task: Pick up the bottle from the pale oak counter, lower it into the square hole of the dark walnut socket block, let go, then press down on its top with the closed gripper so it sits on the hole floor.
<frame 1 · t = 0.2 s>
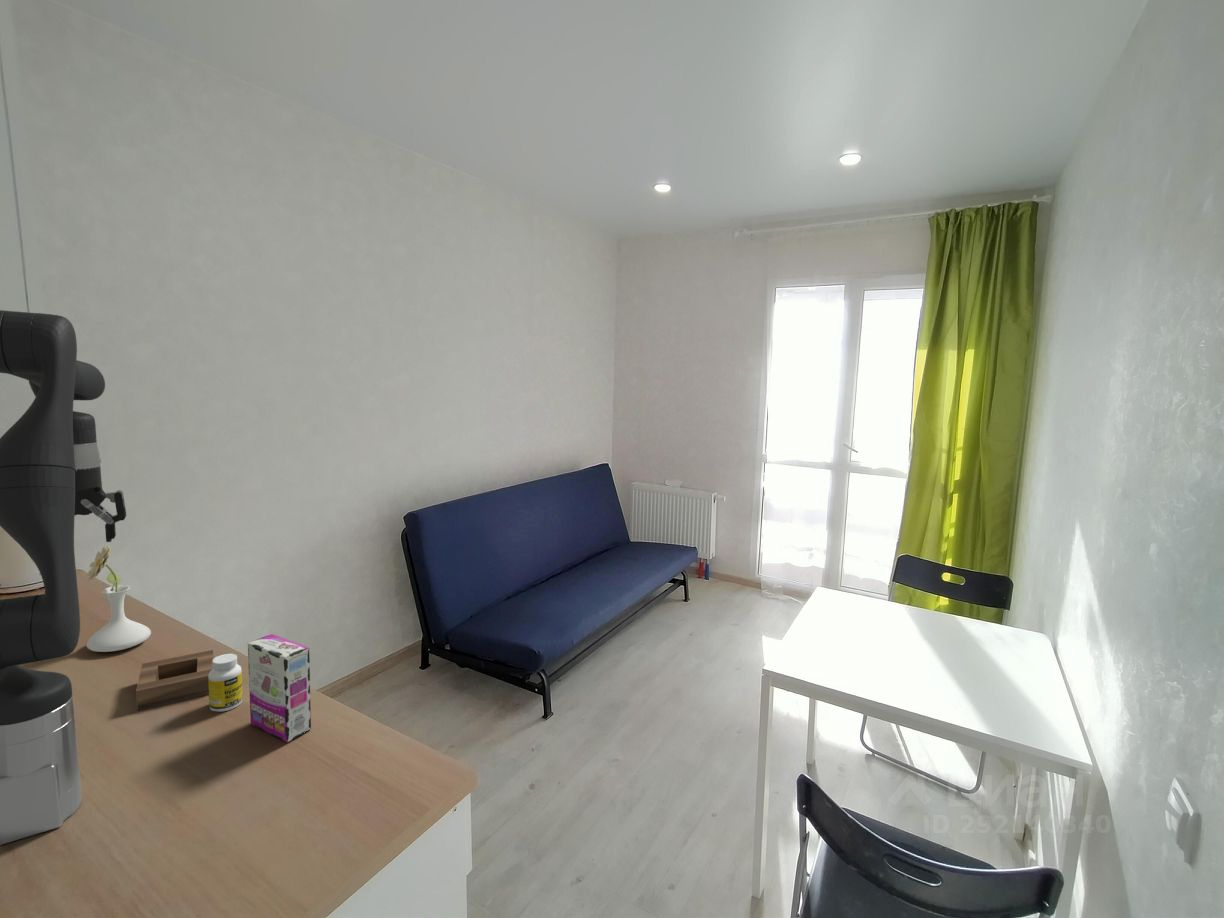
hand: (81, 543, 113), 29 cm above the kitchen counter, fingers open, 8 cm apart
candy bar box: (281, 728, 104), on the kitchen counter
socket block: (178, 687, 115), on the kitchen counter
supplement bottle: (226, 705, 110), on the kitchen counter
flower in vase: (119, 647, 130), on the kitchen counter
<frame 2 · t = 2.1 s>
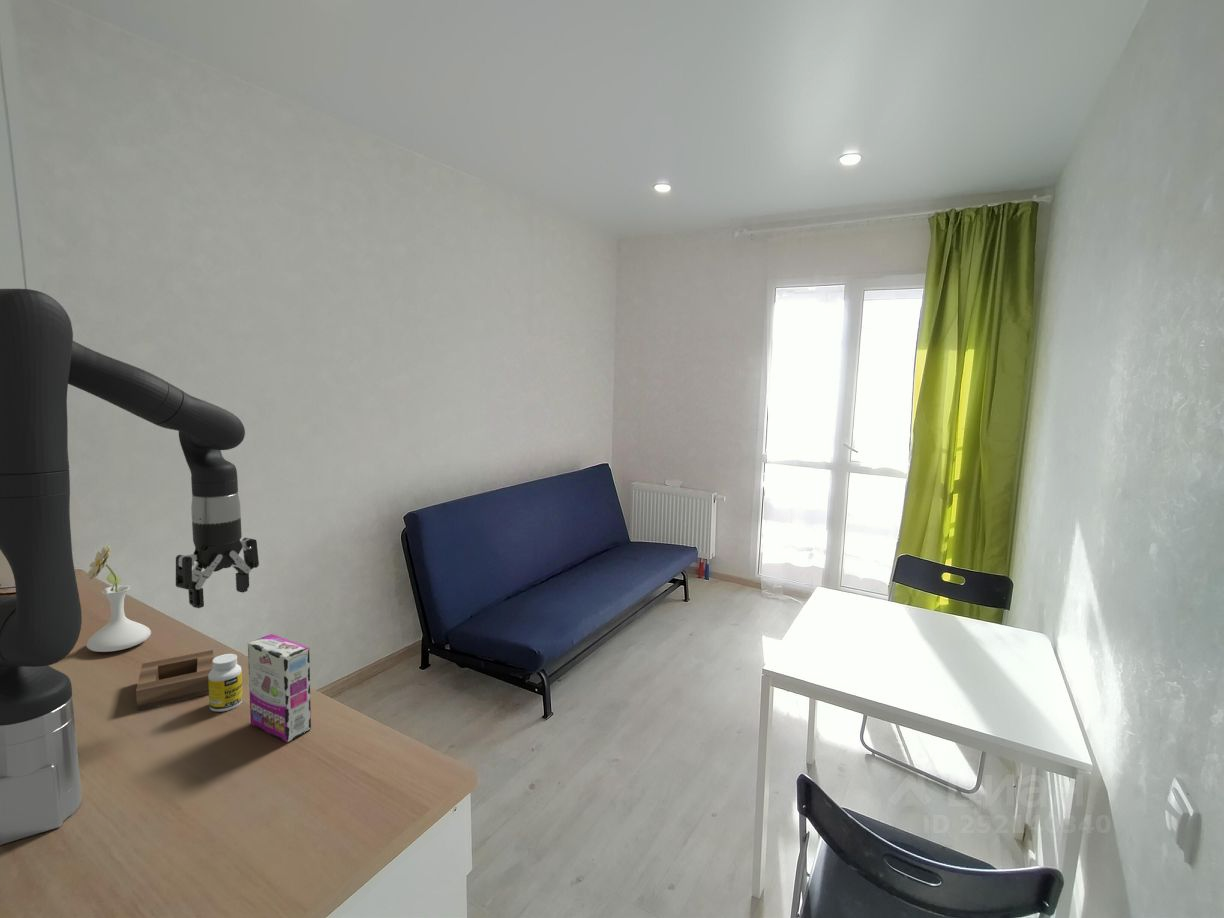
hand: (221, 598, 107), 22 cm above the kitchen counter, fingers open, 8 cm apart
nothing on the kitchen counter moved.
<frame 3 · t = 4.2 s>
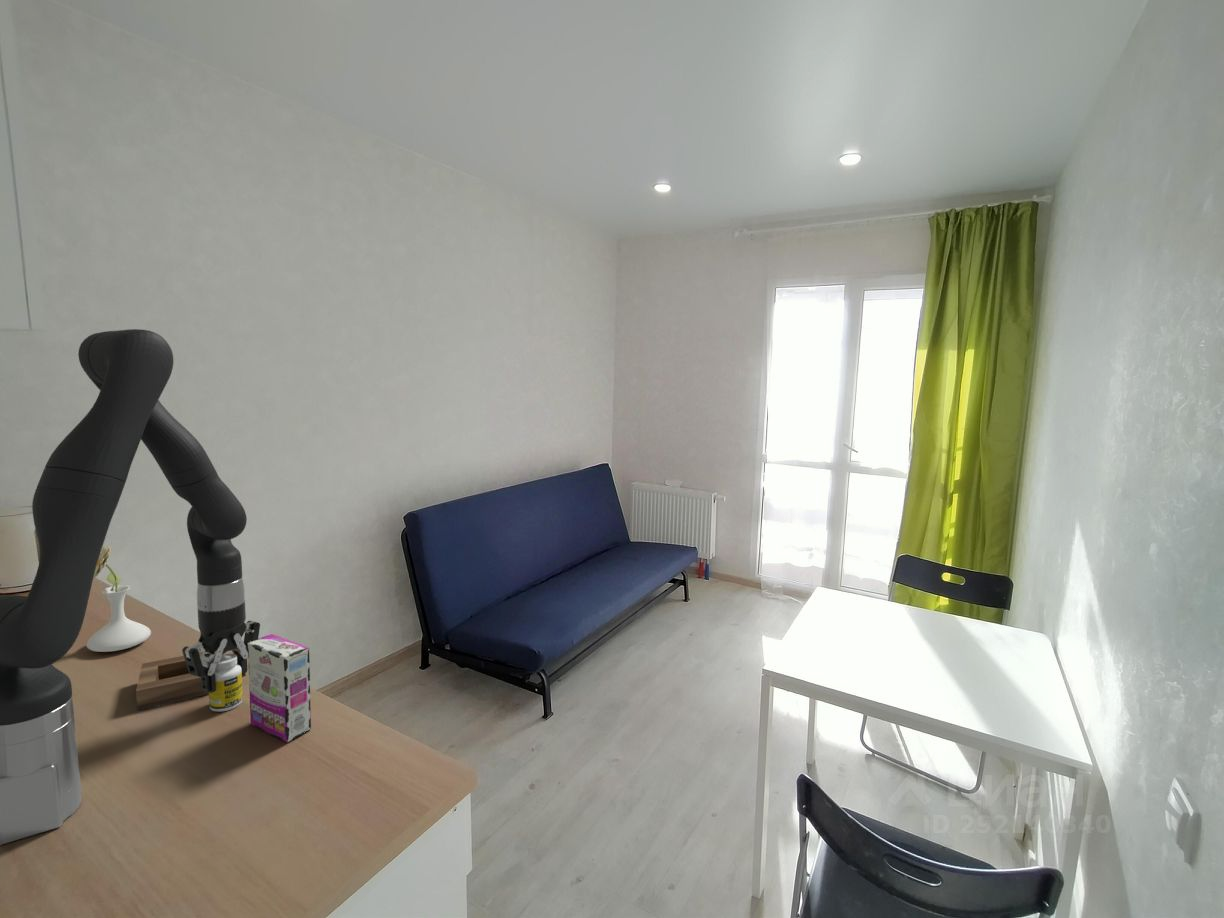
hand: (225, 683, 110), 5 cm above the kitchen counter, fingers closed on supplement bottle, 5 cm apart
supplement bottle: (226, 705, 110), on the kitchen counter, touching gripper
everything else where it was.
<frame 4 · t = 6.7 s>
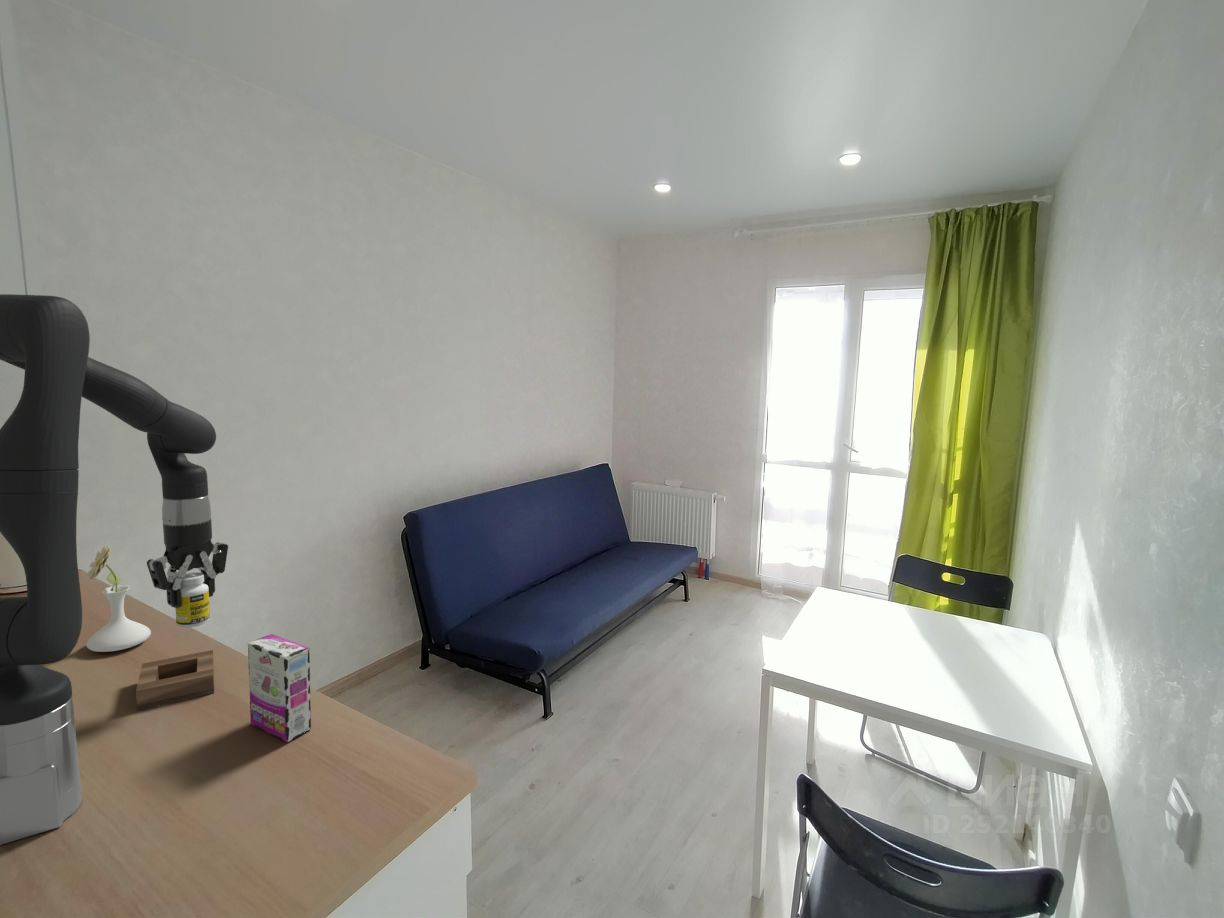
hand: (192, 600, 111), 20 cm above the kitchen counter, fingers closed on supplement bottle, 5 cm apart
supplement bottle: (193, 623, 112), point 15 cm above the kitchen counter, touching gripper
everything else where it was.
when the fingers open (6 cm above the kitchen counter, at t = 9.5 s): supplement bottle stays where it is, resting on socket block.
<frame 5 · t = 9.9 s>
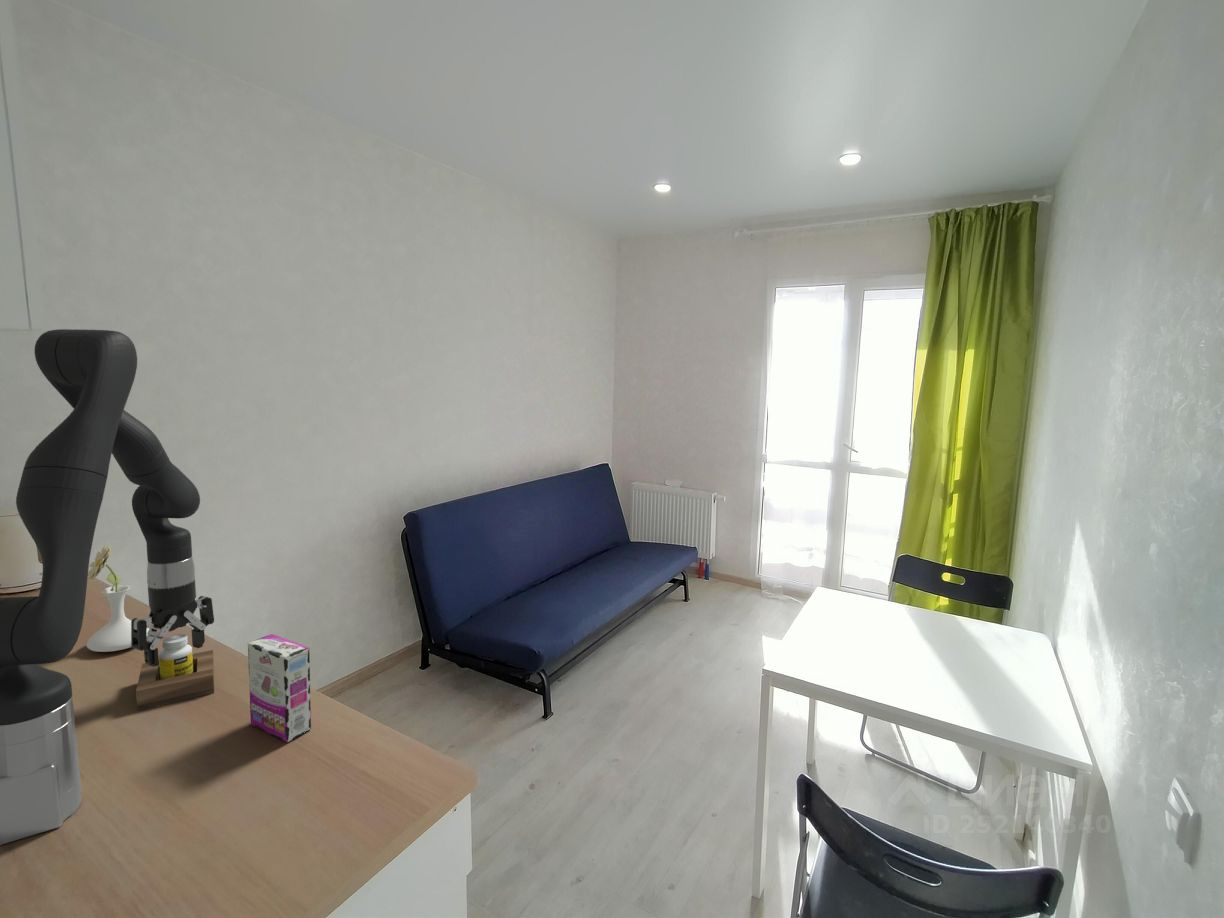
hand: (176, 655, 114), 7 cm above the kitchen counter, fingers open, 8 cm apart
supplement bottle: (177, 683, 115), point 1 cm above the kitchen counter, touching socket block
everything else where it was.
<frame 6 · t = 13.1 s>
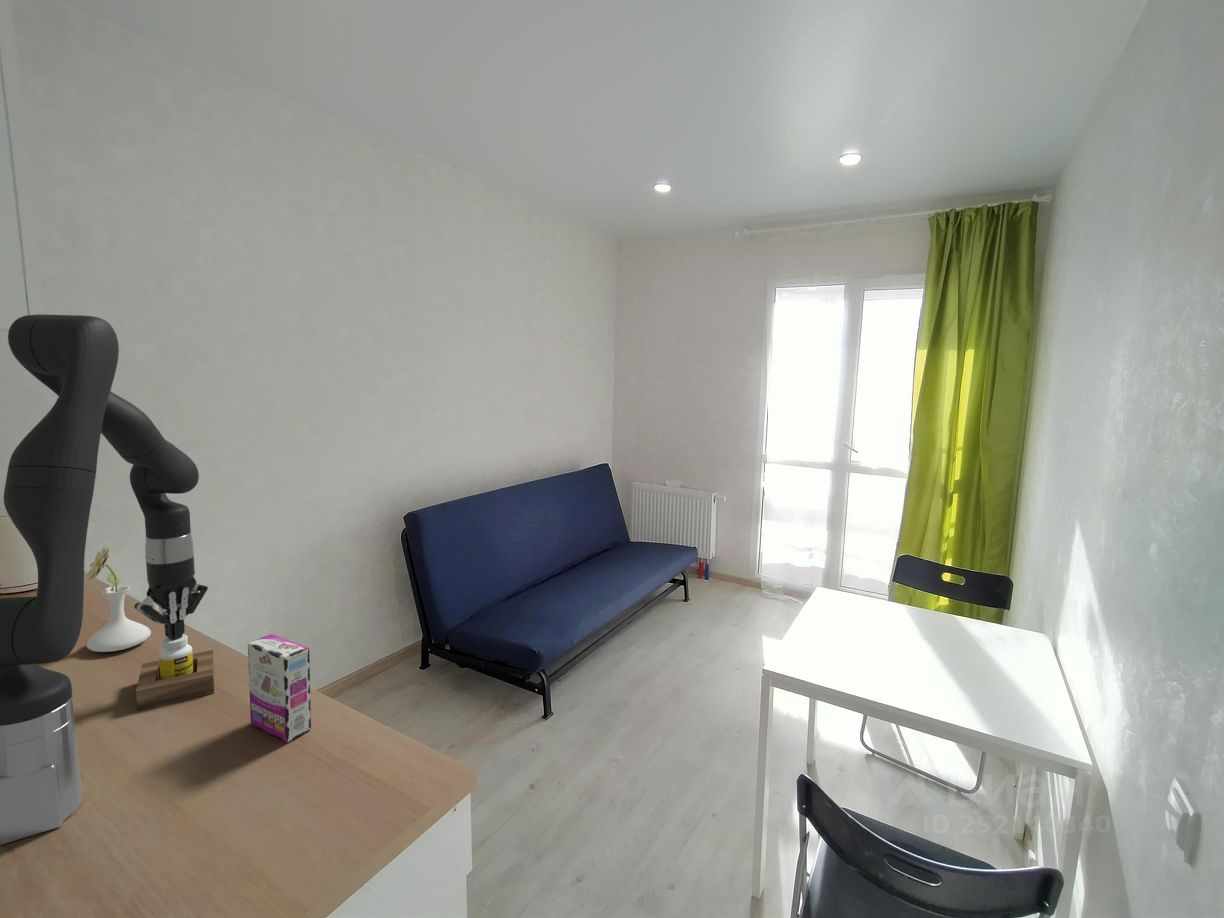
hand: (175, 637, 114), 11 cm above the kitchen counter, fingers closed
supplement bottle: (177, 683, 115), point 1 cm above the kitchen counter, touching gripper, socket block
everything else where it was.
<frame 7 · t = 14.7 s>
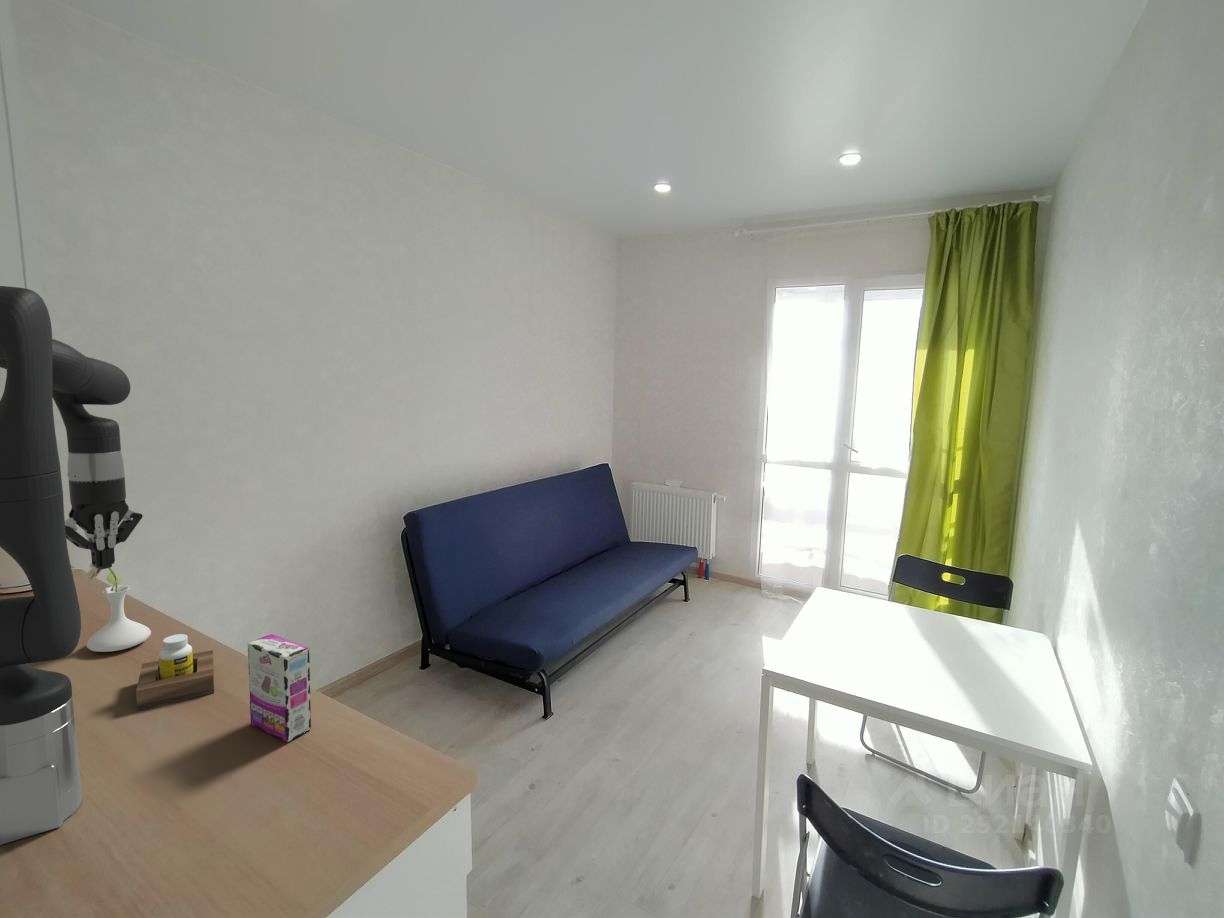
hand: (104, 567, 104), 28 cm above the kitchen counter, fingers closed
supplement bottle: (177, 683, 115), point 1 cm above the kitchen counter, touching socket block
everything else where it was.
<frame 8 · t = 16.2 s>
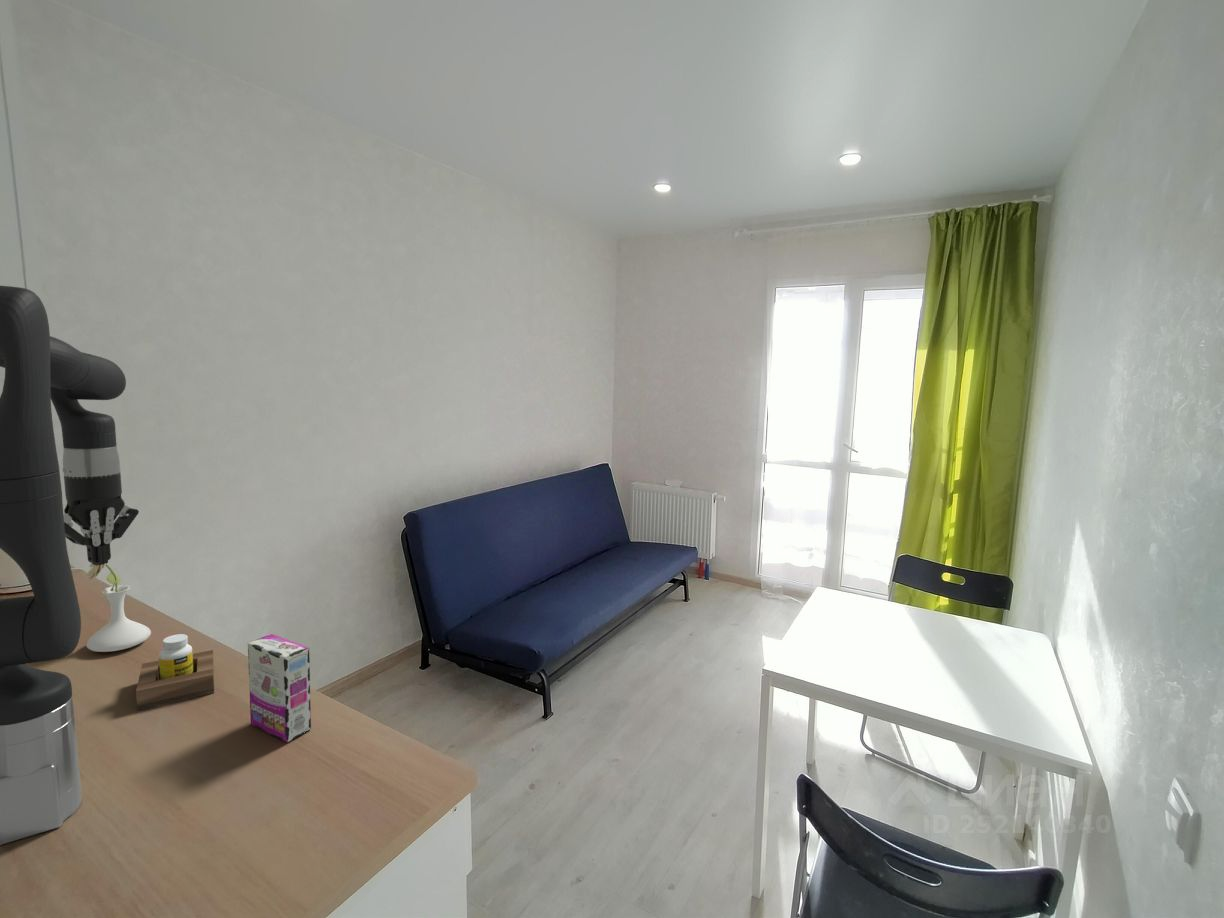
hand: (100, 563, 103), 29 cm above the kitchen counter, fingers closed
nothing on the kitchen counter moved.
at the end: supplement bottle 0.1 cm off-centre on the socket block, point 0.8 cm above the socket block's base; supplement bottle tilted 0°; the gripper is holding nothing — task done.
